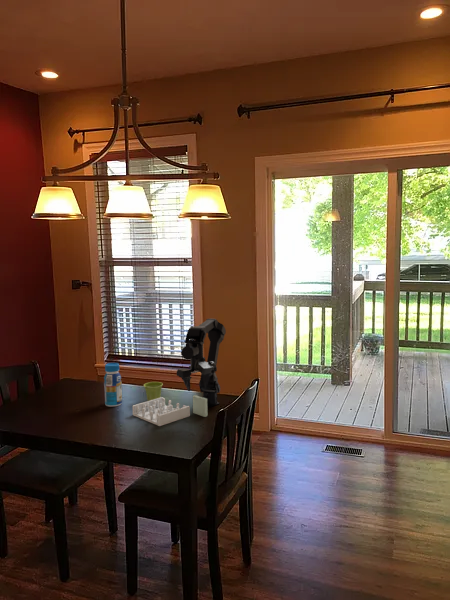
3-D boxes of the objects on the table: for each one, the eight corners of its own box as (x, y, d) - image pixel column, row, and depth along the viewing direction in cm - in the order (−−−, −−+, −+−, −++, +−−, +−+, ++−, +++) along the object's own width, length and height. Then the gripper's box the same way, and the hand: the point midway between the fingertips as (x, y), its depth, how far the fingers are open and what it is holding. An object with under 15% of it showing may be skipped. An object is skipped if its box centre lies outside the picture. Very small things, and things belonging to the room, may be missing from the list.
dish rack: (162, 406, 229) (162, 397, 229) (189, 415, 215) (189, 406, 215) (132, 415, 217) (132, 405, 217) (159, 426, 203) (159, 415, 203)
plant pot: (150, 405, 230) (149, 388, 229) (140, 401, 237) (140, 384, 236) (167, 401, 236) (166, 384, 235) (156, 397, 243) (156, 380, 242)
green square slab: (195, 412, 220) (195, 395, 219) (207, 416, 215) (207, 398, 214) (193, 412, 219) (192, 396, 218) (204, 417, 213) (204, 399, 213)
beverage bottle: (102, 403, 234) (100, 364, 232) (118, 400, 239) (116, 361, 237) (109, 408, 227) (107, 367, 225) (125, 404, 232) (123, 364, 230)
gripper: (190, 360, 202) (190, 397, 203) (224, 354, 213) (224, 389, 215) (175, 356, 210) (176, 391, 212) (209, 351, 222) (209, 384, 223)
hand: (197, 389), depth 215 cm, fingers open, 9 cm apart
